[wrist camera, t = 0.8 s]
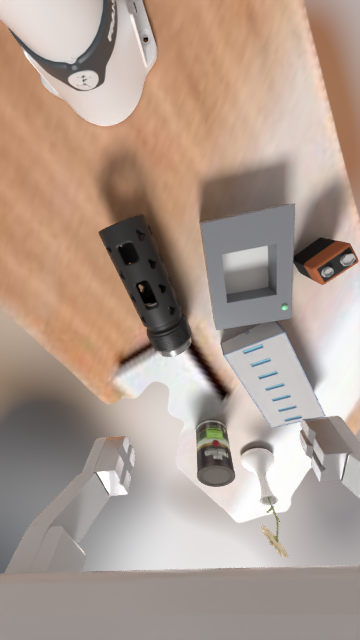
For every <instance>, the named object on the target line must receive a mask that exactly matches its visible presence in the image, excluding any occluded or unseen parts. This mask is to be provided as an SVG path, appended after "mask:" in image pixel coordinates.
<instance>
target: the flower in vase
mask: <svg viewBox="0 0 360 640" xmlns="http://www.w3.org/2000/svg"><path fill="white" fill-rule="evenodd" d="M273 462H274V456H273V454H272V453H271V452H270V451H268V450H267V449H263V448H253V449H250V450H247V451H246V452H244V453H243V454H242V456H241V463H242V465H243V466H244V467H245V468H246V469H247V470H249V471H251V472H253V473H255V474H256V475H257V476H258V478H259V481H260V484H261V491H262V496H261V500H260V502H261V503H262V504H264V505H271V508H270V509H269V510H268V511H267V513H269V511H271V510H272V509H273V507H274V506H272V504H275V503H276V502H277V498H276V497H275V496H274V495H273V494H272V492H271V490H270V488H269V486H268V483H267V479H266V472H267V471H268V470H269V469H270V467H271V466H272V464H273ZM273 511H274V509H273ZM273 514H274V515H275V516H276V513H275V511H274V512H273ZM276 520H277V536H274V535H273V534H272V533H271V532H270V531H269V530H268V529H267V528H266V527H265V526H263V527H261V528H262V529H263V531H264V532H263V533H264V535H266V537H267V538H268V539H269V540H270V541H269V542H270V544H271V545H272V546H274V547H275V548H276V550H277V551H278V553H279V554H280V555H281V556H282V554H283V556H284V558H285V559H286V557H287V558H288V554H287V552H286V550H285V549H284V547H283V546H282V545H281V543H280V542H279V541H278V521H279V519H278V517H277V516H276ZM279 522H280V521H279ZM280 551H281V552H280ZM281 553H282V554H281Z"/></svg>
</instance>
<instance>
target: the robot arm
mask: <svg viewBox="0 0 360 640" xmlns="http://www.w3.org/2000/svg"><path fill="white" fill-rule="evenodd" d="M0 20H1V21H2V22H3V23H4V24H5V25H6V26H7V27H8V28H9V30H10V31H11V33H12V34H13V36H14V37H15V39H16V40H17V41H18V43H19V44H20V45H21V47H22V48H23V49H24V53H25V55H26V57H27V59H28V60H29V61H30V62H31V63H32V65H33V66H34V67H35V68H36V69H37V70H38V72H39V73H40V76H41V80H42V83H43V85H44V86H45V87H46V89H47V90H48V91H49V92H50V93H52V94H54V95H55V96H57V97H59V98H61V99H63V100H65V101H66V102H67V103H68V104H69V105H70V106H71V107H72V109H73V110H74V111H75V112H76V113H77V114H78V115H79V116H81V117H82V118H83V119H85V120H86V121H88V122H90V123H93V124H95V125H100V126H111V125H115V124H118V123H120V122H122V121H123V120H125V119H126V118H127V117H128V116H129V115H130V114H131V113H132V112H133V110H134V109H135V107H136V106H137V104H138V102H139V99H140V97H141V94H142V90H143V86H144V82H145V78H146V76H147V74H148V72H149V71H150V69H151V68H152V66H153V65H154V63H155V61H156V59H157V55H158V50H157V46H156V42H155V39H154V36H153V33H152V30H151V26H150V23H149V20H148V17H147V14H146V11H145V7H144V4H143V1H142V0H0ZM145 37H147V38H148V41H147V42H146V43H145V42H144V41H143V40H144V38H145ZM301 427H302V428H303V429H302V430H301V431H300V440H301V444H302V447H303V449H304V451H305V453H306V455H307V456H309V457H310V458H311V459H312V463H311V466H312V468H313V470H314V471H315V473H316V476H317V478H318V480H319V482H333V481H342V483H343V484H344V485H345V486H347V488H349V489H350V490H351V491H352V492H353V493H354V494H355V495H356V496H357V497H359V498H360V442H359V441H358V439H357V438H356V437H355V435H354V434H353V433H352V431H351V430H350V429H349V427H348V426H347V425H346V423H345V422H344V421H343V420H342V418H341V417H339V416H331V417H318V418H309V419H302V420H301ZM129 443H130V439H129V438H128V436H123V437H109V438H98V439H97V440H96V441H95V443H94V445H93V448H92V450H91V452H90V455H89V457H88V460H87V462H86V464H85V467H84V469H83V471H82V474H78V475H77V477H75V479H73V480H72V482H71V483H70V484H69V485H68V486H67V487H66V488H65V489H64V490H63V491H62V492H61V493H60V494H59V495H58V496H57V497H56V498H55V499H54V500H53V502H51V503H50V504H49V505H48V507H47V508H46V509H45V510H44V511H43V512H42V513H41V514H40V515H39V516H38V517H37V518H36V519H35V520H34V521H33V522H32V523H31V524H30V525H29V526H28V528H27V530H26V532H25V534H24V536H23V538H22V540H21V542H20V544H19V546H18V548H17V549H16V551H15V553H14V555H13V557H12V559H11V561H10V563H9V565H8V567H7V569H6V571H5V573H3V574H0V640H360V565H349V566H305V567H261V568H218V569H175V570H131V571H89V572H82V569H83V566H84V562H85V559H86V555H85V552H84V551H83V550H82V549H81V548H80V547H79V546H78V543H79V542H80V541H81V539H82V537H83V536H84V534H85V533H86V532H87V530H88V529H89V527H90V526H91V524H92V523H93V521H94V520H95V518H96V517H97V515H98V514H99V512H100V511H101V509H102V508H103V507H104V505H105V504H106V502H107V501H108V499H109V498H110V496H114V495H124V494H127V493H128V489H129V485H130V480H131V477H130V475H129V472H130V471H131V470H132V468H133V466H134V461H135V460H134V459H135V453H134V449H133V447H132V446H131V445H130V444H129Z"/></svg>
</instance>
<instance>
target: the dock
mask: <svg viewBox="0 0 360 640" xmlns="http://www.w3.org/2000/svg"><path fill="white" fill-rule="evenodd" d="M294 221H295V204H282V205H277V206H272V207H268V208H263V209H258V210H254V211H249V212H244V213H240V214H235V215H230V216H226V217H221V218H216V219H212V220H207V221H202V222H199V223H200V230H201V237H202V243H203V250H204V257H205V264H206V271H207V278H208V285H209V292H210V299H211V306H212V313H213V319H214V323H215V327H216V330H221V329H227V328H234V327H240V326H247V325H253V324H259V323H266V322H272V321H279V320H285V319H291V313H292V282H293V251H294Z"/></svg>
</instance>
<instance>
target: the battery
mask: <svg viewBox="0 0 360 640" xmlns="http://www.w3.org/2000/svg"><path fill="white" fill-rule="evenodd" d="M293 263H294V264H295V266H296V267H297V269H298V270H299V272H300V273H301V274H303V275H305V276H307V277H308V278H310V279H312V280H314V281H316V282H318V283H320V284H322V285H324V284H326V283H327V282H329V281H330V280H332V279H333V278H335V277H336V276H338V275H340V274H341V273H343V272H344V271H346V270H347V269H349V268H350V267H352V266H353V265H355V264H356V263H358V258H357V256H356V254H355V252H354V250H353V248H352V246H351V244H350V243H346V242H341V241H335V240H330V239H325V238H319V239H318V240H316V241H315V242H314V243H312V244H311V245H309V246H308V247H307V248H305V249H304V250H303V251H301V252H300V253H298V254H297V255H296V256H294V257H293Z"/></svg>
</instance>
